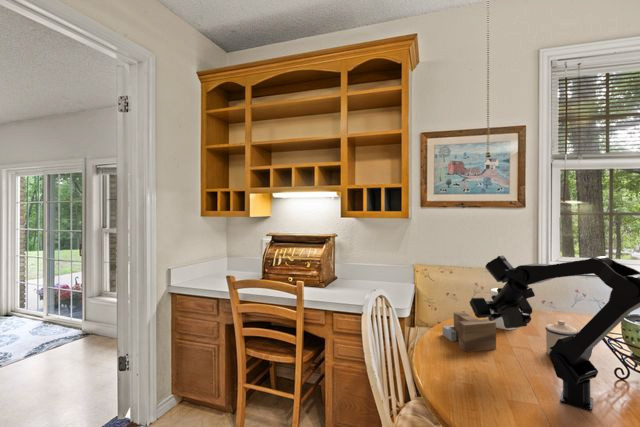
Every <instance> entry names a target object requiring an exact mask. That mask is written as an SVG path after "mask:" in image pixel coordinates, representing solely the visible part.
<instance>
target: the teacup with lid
mask: <svg viewBox="0 0 640 427" xmlns="http://www.w3.org/2000/svg"><path fill="white" fill-rule="evenodd" d="M578 332H579V331H578V330H577V329H576V328H575V327H573V326H570V325H569V324H568V323H566V322H565V321H564V320H562V319H559V320H557V322H554V323H549V324H546V325H545V334H546V335H545V337H546V338H545V339H546V341H545V342H546V345H545V346H546V348H545V349H546V354H547V355H549V353H550V351H551V350H552V349H550V347H553V346H554V345H555V343H556V342H557V340H558V339H560V338H563V337H567V336H571V335H573V336H575V335H576V334H577V333H578Z"/></svg>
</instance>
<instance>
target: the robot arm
mask: <svg viewBox="0 0 640 427" xmlns="http://www.w3.org/2000/svg"><path fill="white" fill-rule="evenodd" d="M485 269H486V270H487V271H488V273H489V274H490V276H492V277H493V278H494V280H495V281H496V282H497V283H502V284H504V283H505V284H504V285H503V286H502V287H499V288H498V287H497V288H498V289H497V291H498V294H497V295H493V296H492V297H491V298H492V299H493V301H487V300H486V299H485V298H484V297H471V300H470V301H469V305H470V307H471V309H472V312H473V313H474V316H475V318H476V319H484V318H485V319H487V317H488V319H489V321H493V320H495V319H498V318H500V317H502V318H503V322H504V326H505V327H506V328H517V329H518V328H523V327H527V326H528V324H530V322H531V321H532V317H531V315H532V313H533V307H532V306H531V304H530V303H529V301H528V300H527V299H530V298H534V297H535V292H534V290H533V288H532V287H531V286H530V285H537V284H541V283H544V282H545V283H546V282H549V281H550V280H553V279H556V278H558V279H559V278H566V277H575V276H582V275H590V274H591V275H592V274H593V275H594V276H597V277H598V278H599V279H600V280H601V282H603V284H605V285H606V286H608V287H609V288H611V291H610V294H609V298H608V301H607V303H606V304H604V305H603V307H602V308H601V309H600V310H599V311H597V313H596V314H595V315H594V316H593V317H592V318H591V319H590V320H589V321H588V322H587V323H586V324H585V325H584V326H583V327H582V328H581V329H580V330H579V331H578V333H577V334H576V335H575V336H573V335H571V336H567V337H563V338H560V339H558V340H557V342H556V343H555V345H554V346H553V347H550V349H552V350H551V351H550V353H549V354H548V357H549V360H550V362H551V364H552V366H553V370H554V373H555V375H556V377H557V378H559V379H560V380H562V390H561V393H560V398H559V402H560V403H564V404H567V405H570V406H573V407H577V408H580V409H584V410H586V411H587V410H588V411H592V410H593V405H594V404H593V403H594V398H593V397H592V396H591V380H593V379H596V378H597V376H598V374H599V370H598V369H597V367H595V366H594V364H593V363H592V361H591V360H590V359H591V357H592V353H593V350H594V348H595V347H596V346H597V345H598V344H599V343H600V342H601V341H603V339H604V338H605V337H606V336H608V334H609V333H611V331H613V330H614V328H616V327H617V326H618V325H619V324H620V323H621V322H622V321H624V320H625V319H626V317H628V315H630V314H631V313H632V312H634V311H635V310H636V311H637V310H638V309H639V308H640V271H639V270H637V269H635V268H632V267H629V266H627V265H625V264H622V263H619V262H617V261H616V260H613V258H610V257H609V256H606V255H605V256H604V255H603V256H601V255H599V256H594V257H593V256H592V257H590V258H587V259H582V260H574V261H568V262H567V261H566V262H561V263H560V262H559V263H553V264H549V263H530V264H521V265H520V264H519V265H518V266H516V267H514V266H512V264H511V263H510V262H509V261H508V259H507V258H506V257H505V256H504V255H497V257H495V258H493V259H491V261H488V262H487V263H486V264H485Z"/></svg>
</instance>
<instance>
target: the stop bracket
mask: <svg viewBox="0 0 640 427" xmlns="http://www.w3.org/2000/svg"><path fill="white" fill-rule="evenodd" d="M442 336H444V337H445V338H446V339H448V340H449V341H451V342H456V341H457V338H456V331H454V324H453V325H452V324H451V325H443V326H442Z"/></svg>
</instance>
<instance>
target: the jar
mask: <svg viewBox="0 0 640 427" xmlns="http://www.w3.org/2000/svg"><path fill="white" fill-rule="evenodd" d="M497 289H498V287H493V288H491V289H490V295H489V297H488V298H486V301H493V299H492V298H491V297H492V296H493V295H497V294H498V291H497ZM486 319H488V317H486ZM493 321H494V322H496V329H502V330H508V331H514V330H517V329H518V328H506V327H505V326H504V322H503V318H502V317H500V318H498V319H495V320H493Z"/></svg>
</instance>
